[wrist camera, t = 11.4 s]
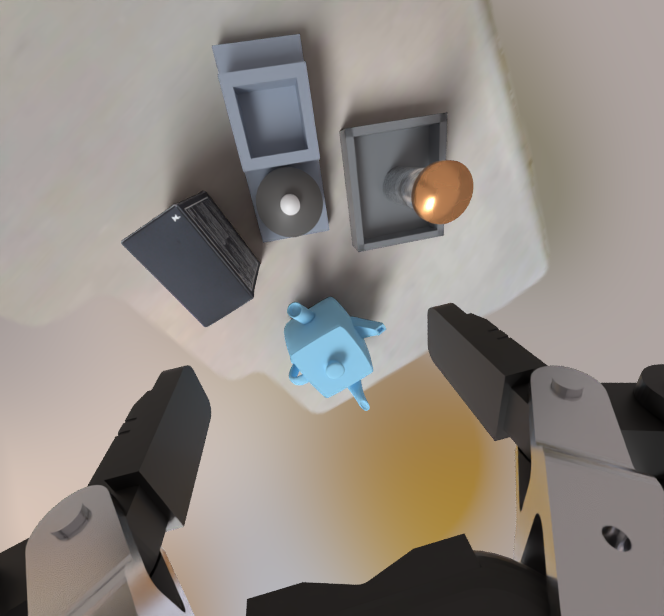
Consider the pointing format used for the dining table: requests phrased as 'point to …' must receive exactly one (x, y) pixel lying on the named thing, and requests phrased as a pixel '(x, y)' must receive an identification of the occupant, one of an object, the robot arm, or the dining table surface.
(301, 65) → the block
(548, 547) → the robot arm
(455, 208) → the copper capped glass jar
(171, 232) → the small box
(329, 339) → the teapot
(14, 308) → the dining table surface
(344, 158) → the tray
